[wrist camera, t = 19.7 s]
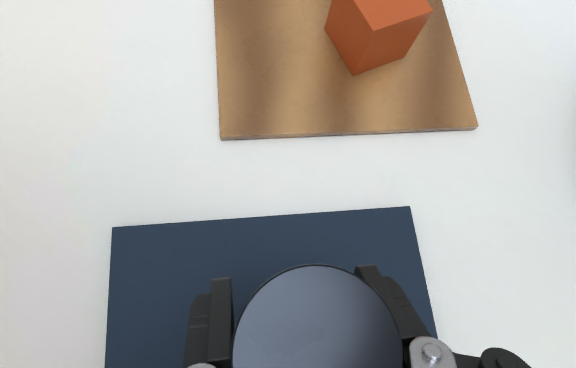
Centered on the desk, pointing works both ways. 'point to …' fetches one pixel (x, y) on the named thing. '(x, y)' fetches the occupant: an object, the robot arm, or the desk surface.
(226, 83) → the cork mat
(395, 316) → the robot arm
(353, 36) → the orange block
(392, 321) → the charcoal tin
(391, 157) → the desk surface
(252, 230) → the slate mat
